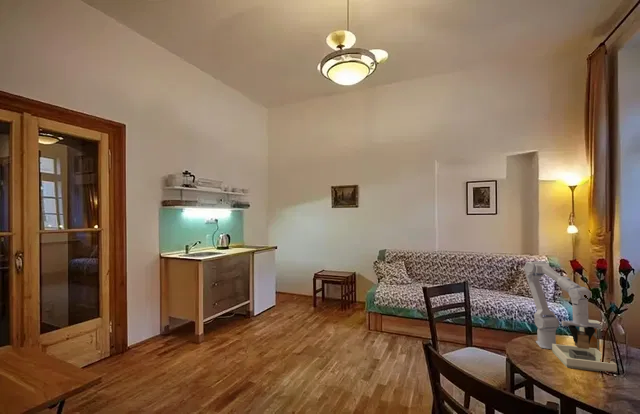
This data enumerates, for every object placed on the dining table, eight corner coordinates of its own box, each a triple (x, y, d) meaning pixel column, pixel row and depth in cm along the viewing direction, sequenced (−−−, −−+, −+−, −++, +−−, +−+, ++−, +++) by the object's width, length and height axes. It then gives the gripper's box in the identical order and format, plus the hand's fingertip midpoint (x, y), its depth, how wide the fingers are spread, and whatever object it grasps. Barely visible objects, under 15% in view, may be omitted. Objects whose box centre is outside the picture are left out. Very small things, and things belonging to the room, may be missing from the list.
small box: (584, 347, 164) (583, 322, 165) (579, 342, 170) (578, 318, 171) (604, 349, 161) (603, 323, 162) (598, 345, 167) (597, 320, 168)
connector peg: (574, 344, 150) (574, 329, 150) (585, 345, 149) (584, 330, 149) (578, 347, 146) (577, 332, 147) (589, 349, 145) (588, 333, 145)
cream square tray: (552, 351, 159) (552, 343, 159) (596, 356, 153) (596, 348, 153) (566, 367, 142) (566, 358, 142) (617, 373, 136) (616, 364, 136)
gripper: (565, 314, 147) (566, 343, 146) (603, 317, 142) (605, 347, 141) (559, 310, 154) (560, 338, 153) (596, 312, 149) (597, 342, 148)
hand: (581, 342), depth 148 cm, fingers closed on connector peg, 4 cm apart
